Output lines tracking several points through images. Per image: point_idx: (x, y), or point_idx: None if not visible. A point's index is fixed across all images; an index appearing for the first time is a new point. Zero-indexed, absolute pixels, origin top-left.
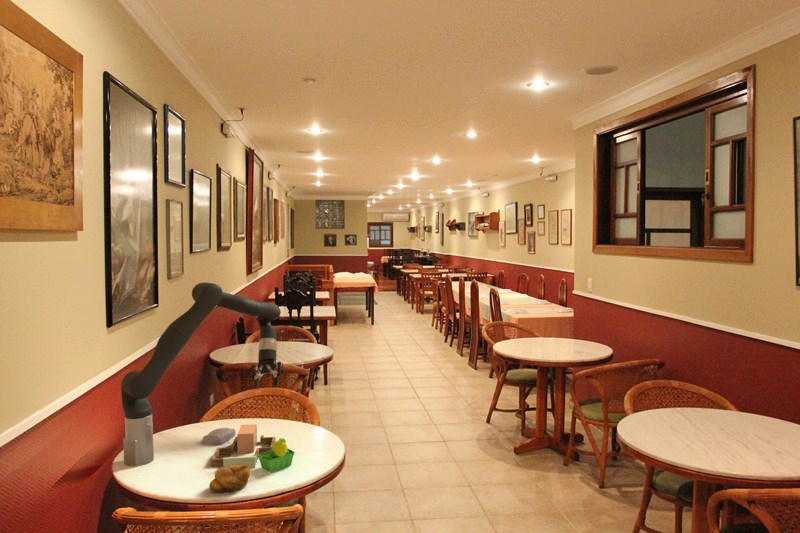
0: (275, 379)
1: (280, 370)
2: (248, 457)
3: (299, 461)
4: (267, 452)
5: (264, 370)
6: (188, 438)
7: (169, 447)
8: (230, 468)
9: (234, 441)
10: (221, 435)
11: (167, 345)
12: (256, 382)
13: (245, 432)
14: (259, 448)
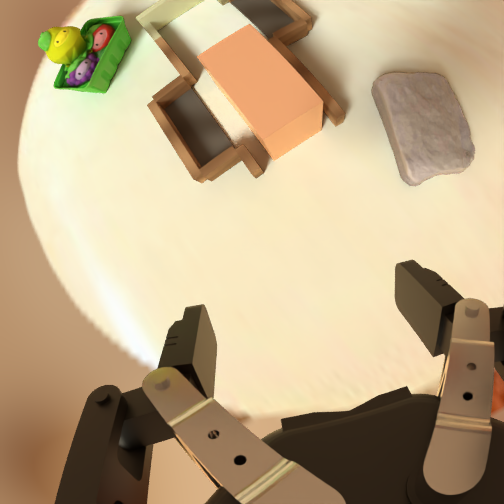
0: (177, 360)
1: (74, 436)
2: (149, 7)
3: (74, 119)
4: (110, 41)
5: (384, 434)
6: (501, 106)
7: (474, 37)
8: None
9: (307, 75)
10: (384, 81)
11: None
12: (428, 287)
13: (233, 47)
14: (180, 75)
